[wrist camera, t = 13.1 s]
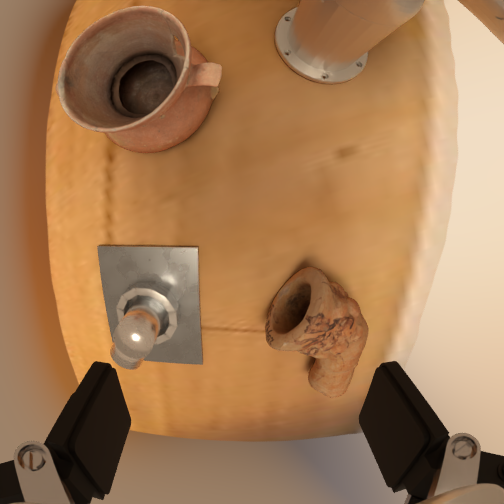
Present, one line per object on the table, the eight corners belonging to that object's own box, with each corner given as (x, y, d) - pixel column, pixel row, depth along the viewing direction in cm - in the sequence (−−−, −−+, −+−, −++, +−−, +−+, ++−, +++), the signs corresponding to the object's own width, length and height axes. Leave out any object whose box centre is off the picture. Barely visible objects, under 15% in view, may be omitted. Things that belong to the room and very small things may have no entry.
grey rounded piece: (142, 286, 37) (120, 316, 29) (172, 304, 38) (158, 337, 30) (124, 324, 38) (103, 358, 30) (152, 341, 39) (137, 377, 31)
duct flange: (99, 245, 36) (90, 250, 33) (198, 246, 36) (195, 252, 34) (117, 355, 40) (111, 365, 38) (203, 362, 41) (201, 373, 39)
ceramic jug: (234, 52, 30) (234, -7, 16) (217, 159, 34) (205, 151, 20) (104, 53, 28) (53, 13, 15) (86, 152, 32) (19, 149, 18)
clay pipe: (352, 258, 42) (262, 254, 36) (404, 283, 33) (307, 286, 27) (323, 362, 47) (242, 375, 41) (360, 399, 37) (271, 424, 31)
